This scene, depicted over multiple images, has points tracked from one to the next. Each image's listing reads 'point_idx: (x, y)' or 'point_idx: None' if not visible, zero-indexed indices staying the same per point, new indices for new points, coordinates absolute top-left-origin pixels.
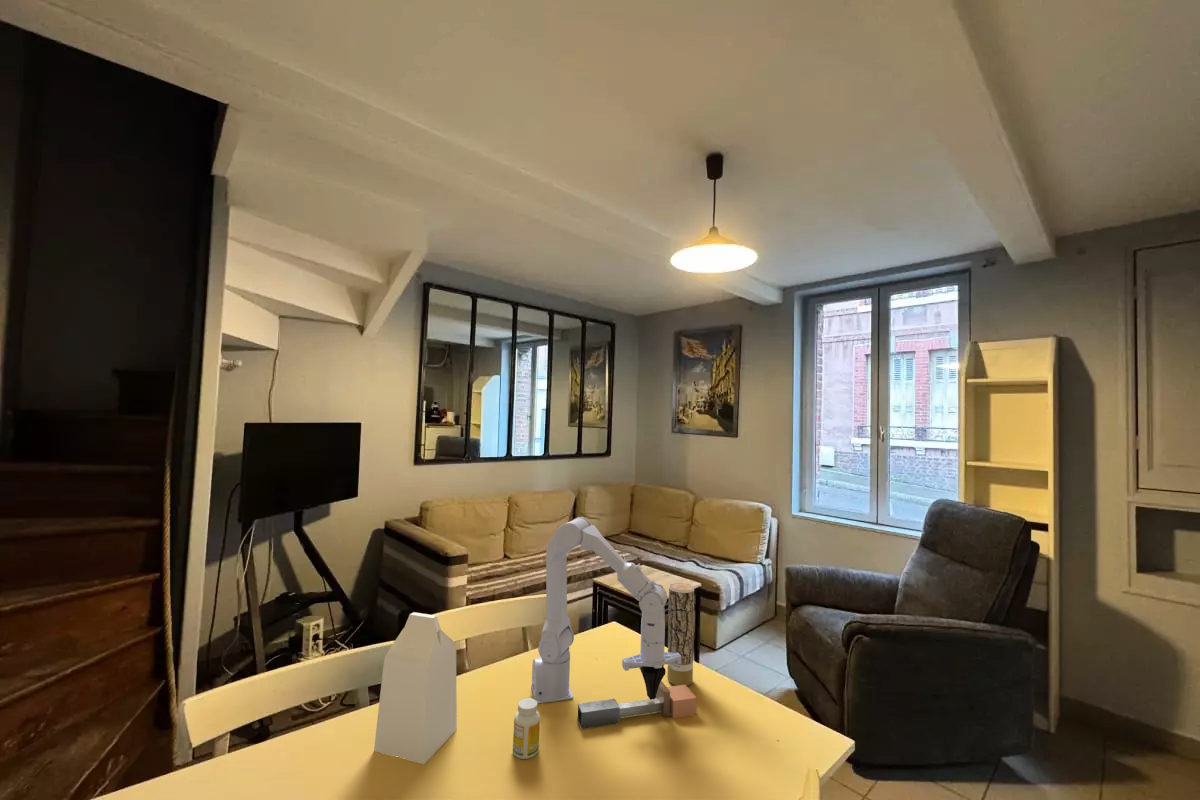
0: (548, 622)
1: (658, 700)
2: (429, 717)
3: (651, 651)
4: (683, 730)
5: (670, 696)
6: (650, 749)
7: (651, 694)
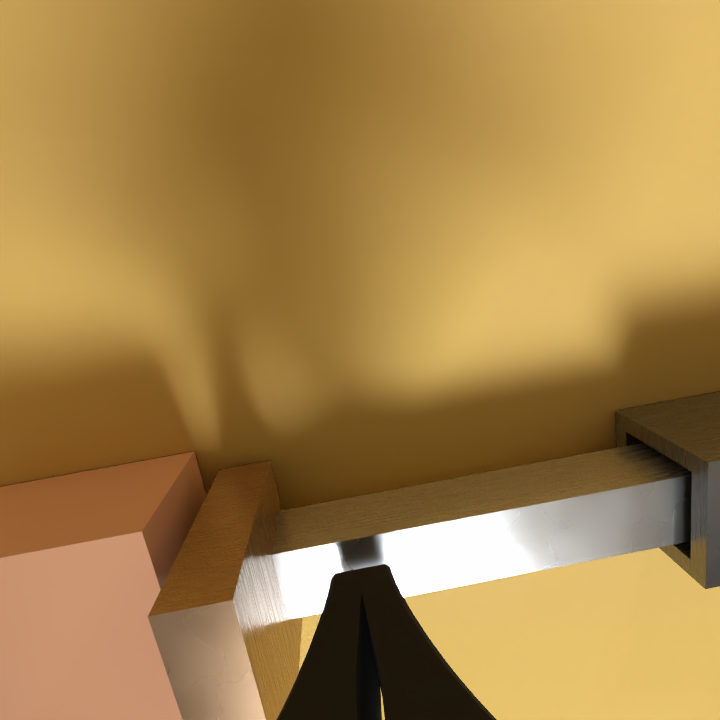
0: None
1: (291, 586)
2: None
3: None
4: (140, 303)
5: None
6: (469, 80)
7: (388, 593)
